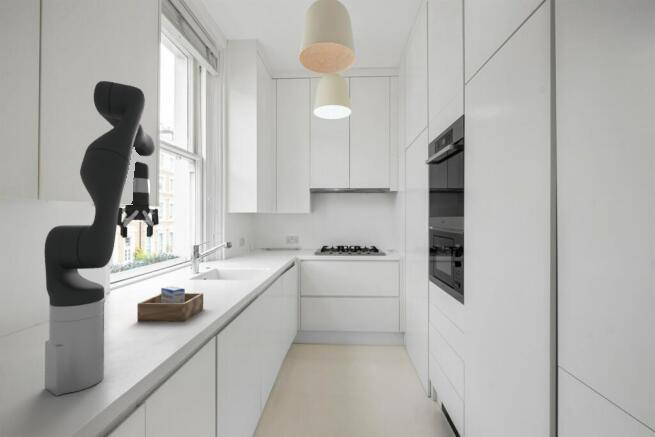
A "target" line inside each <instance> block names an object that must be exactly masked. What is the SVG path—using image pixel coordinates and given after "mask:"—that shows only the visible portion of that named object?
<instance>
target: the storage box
mask: <svg viewBox="0 0 655 437" xmlns="http://www.w3.org/2000/svg"><path fill="white" fill-rule="evenodd" d="M202 310H204V293H203V292H202V293H201V292H199V293H197V292H186V293H185V303H161V293H160V294H157V295H154V296H152V297H149V298H147V299H145V300H143V301H140V302H138V303H137V322H148V323H149V322H154V323H155V322H157V323H158V322H161V323H163V322H166V323H167V322H169V323H170V322H171V323H172V322H173V323H184V322H186V321H188V320H189V319H190V318H192V317H193V316H195V315H197V314H198V313H199V312H202Z"/></svg>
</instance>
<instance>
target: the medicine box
mask: <svg viewBox="0 0 655 437" xmlns="http://www.w3.org/2000/svg"><path fill="white" fill-rule="evenodd" d="M160 289H161V290H160V291H161V292H160V294H161V303H185V292H186V291H185V288H182V287H177V286H165V287H161V288H160Z"/></svg>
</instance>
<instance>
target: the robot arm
mask: <svg viewBox="0 0 655 437" xmlns="http://www.w3.org/2000/svg"><path fill="white" fill-rule="evenodd" d="M144 94H145V93H144V92H143V91H142V89H141V88H138V87H136V86H133V85H129V84H124V83H120V82H114V81H110V80H109V81H106V80H101V81H98V82H97V83H96V84H95V86H94V89H93V103H94V106H95V109H96V111H97V112H98V114H99V115H100V116H101V117H102V118H104V120H106V122H108V123H109V124H110V126H112V128H111V129H110V130H108V131H107V132H104V133H103V134H102V135H100V136H98V137H97V138H96V139H95V140H93V141H92V142H90V143H89V145H88V146H87V148H86V150H85V152H84V156H83V157H82V158H83V159H82V162H81V165H80V170H79V175H80V180H81V182H82V183H83V186H84V188H85V190H86V191H87V193H88V195H89V196H90V198H91V200H92V202H93V205H94V209H95V211H94V212H95V213H94V218H93V222H92V223H91V224H90V225H89V224H88V225H87V224H86V225H85V224H84V225H83V224H82V225H80V224H77V225H76V224H75V225H72V224H68V225H67V224H66V225H63V224H62V225H57V226H54V227H53V228H51V229H50V231H48V233H47V235H46V238H45V242H44V267H45V286H46V292H47V295H48V297H49V307H48V308H49V310H48V311H49V313H48V314H49V318H48V319H49V322H48V323H49V326H48V328H49V330H48V332H49V334H48V338H49V339H48V340H46V341H45V342H44V388H45V389H46V390H47V391H49V392H50V393H52V394H53V395H55V396H56V397H57V396H60V395H63V394H67V393H73V392H79V391H82V390H85V389H89V388H90V387H92V386H95V385H97V384H98V383H100V382H101V381H102V380H103V379H104V378H105V288H104V286H103V284H101V283H98V282H94V281H91V280H89V279H87V278H86V277H83V276H82V275H81V274H80V273H79V271H78V270H83V269H84V270H85V269H86V270H89V269H91V270H92V269H103V268H104V267H106V266H108V264H109V263H110V261H111V258H112V256H113V252H114V249H115V243H116V236H117V235H116V233H117V226H119V227H120V230H119V231H120V236H121V238H122V239H123V238H124V239H127V238H128V225H129V224H130V223H131V222H132V221H143V222H144V223H145V225H146V237H147V238H152V237H153V235H154V227H155V226H157V225H159V224H160V223H159V221H160V219H159V209H158V208H150V199H151V198H150V194H151V193H150V191H151V190H150V187H151V186H150V167H149V165H148V163H146V162H143V161H138V160H136V161H137V162H136V163H135V171H134V178H133V180H134V181H133V201H132V203H131V204H133V205H125V206H124V208H123V207H120V206H121V202H122V196H123V193H124V190H125V184H126V178H127V174H128V170H129V165H130V160H131V154H132V149H133V147H135V150H136V152H137V153H138V154H139V155H140V157H150V156H152V155H154V153H155V150H156V145H155V142H154V140H153V138H152V137H151V136H150V135H149V134H148V133H146V132H145V130H144V128H143V126H142V124H141V122H142V117H143V116H144V110H145V108H146V107H145V106H146V98H145V95H144ZM124 213H125V214H126V215H125V216H124V218H123V215H124ZM149 214H150V215H151V217H150V215H149Z"/></svg>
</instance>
